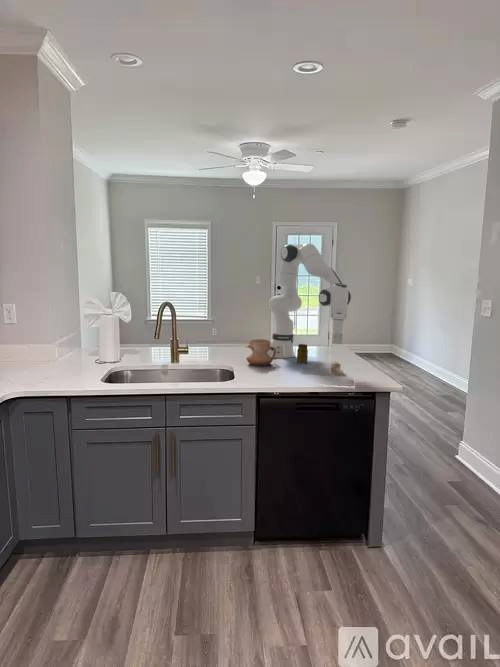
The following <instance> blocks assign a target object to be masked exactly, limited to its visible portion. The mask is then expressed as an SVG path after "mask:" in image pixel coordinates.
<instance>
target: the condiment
mask: <svg viewBox="0 0 500 667" xmlns="http://www.w3.org/2000/svg"><path fill="white" fill-rule="evenodd" d="M296 352H297V353H296V354H297V355H296V358H297V359H296V364H298V365H307V364H308V356H309V355H308V353H309V349H308V344H305V343H299V344H298V345H297V351H296Z"/></svg>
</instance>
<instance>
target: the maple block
mask: <svg viewBox="0 0 500 667" xmlns="http://www.w3.org/2000/svg"><path fill="white" fill-rule="evenodd" d="M330 363H331V364H330V369H331V373H340V370H341V368H342V367H341V361H330Z"/></svg>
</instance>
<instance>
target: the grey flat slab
mask: <svg viewBox="0 0 500 667" xmlns="http://www.w3.org/2000/svg"><path fill="white" fill-rule="evenodd" d="M300 374H301V375H311V376H312V375H313V376H314V375H315V376H329V377H339V378H340V377H342V378H343V377H344V370H343V369H340V373H331V368H321V367H305V366H304V367H302V369H301V372H300Z"/></svg>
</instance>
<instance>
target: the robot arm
mask: <svg viewBox="0 0 500 667" xmlns="http://www.w3.org/2000/svg"><path fill="white" fill-rule="evenodd" d="M280 256H281V263H280V266H279V268H280V270H279V275H278V276H279V277H278V286H279V287H280V288H281V292H282V294H277V295H274V296H272V297H270V298H269V301H268V309H269V310H270V311H271V312H272V313H273V316H274V319H275V332H273V333H272V334H271V335H272V336H271V338H272V339H270V341H271V343H270V346H274V347H275V348H276V355H275V356H274V358H273V359H275V358H276V359H286V358H294V357H295V351H294V340H295V339H294V337H295V336H294V321H293V320H292V319H291V318H290V312H296V311H297V310H299V309H300V308H301V307H302V302H303V301H302V298H301V297H300V296H299V294H298V289H297V283H298V282H297V280H298V272H299V266H300V264H302V265H303V267H304V269H305V270H306V272H307V273H308V274H309V275H311V276H313V277H316V278H320V279H323V280H325V281H326V282H328V283H329V285H330V287H327V288H325V289H324V288H323V289H322V290H321V291H320V292H319V293H318V302H319V303H320V305H321V306H323V307H330V313H329V314H330V316H329V317H330V318H331V320H332V321H333V333H335V334H336V341H339V337H340V334H341V333H342V334H343V328H344V322H345V320H346V319H348V312H349V311H348V309H349V308H348V305H349V304H350V302H351V300H352V296H351V292H350V291H349V288H348V285H347V284H345V283H343V282H342V281H341V280H340V278H339V276H338V275H337V274H336V272H335V270H334V269H333V268H332V267H330V266H329V265H328V263H327V262H325V260H324V258H323V257H322V255H321V253H320V251H319V250H318V248H317V247H316V246H315V245H314V244H313V243H305V244H300V243H299V244H298V243H297V244H296V243H295V244H291V243H288V244H285V245H284V246H282V248H281V250H280ZM267 354H268V355H269V356H271V357H272V356H273V354H274V349H273V348H272V349H270V350H268V352H267Z"/></svg>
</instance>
